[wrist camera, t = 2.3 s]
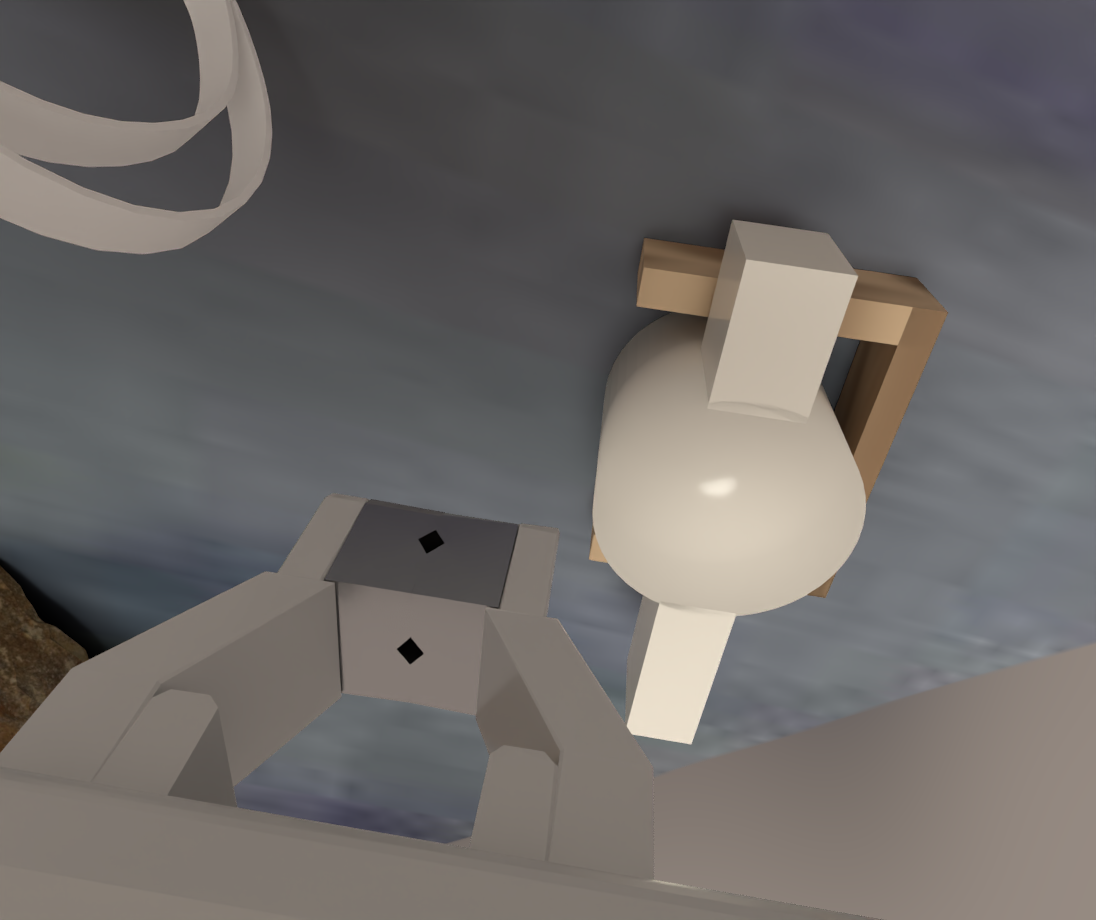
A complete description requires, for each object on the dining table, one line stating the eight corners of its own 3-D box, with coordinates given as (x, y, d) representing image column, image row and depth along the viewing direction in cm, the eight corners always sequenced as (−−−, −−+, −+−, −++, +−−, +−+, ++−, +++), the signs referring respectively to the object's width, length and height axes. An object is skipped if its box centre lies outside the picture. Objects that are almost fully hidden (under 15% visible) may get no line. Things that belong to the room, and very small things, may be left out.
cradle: (594, 512, 30) (589, 559, 28) (644, 237, 24) (643, 267, 22) (810, 546, 30) (825, 597, 28) (916, 278, 24) (947, 312, 22)
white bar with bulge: (570, 589, 33) (553, 720, 27) (642, 178, 23) (639, 243, 18) (743, 617, 33) (763, 756, 27) (886, 213, 23) (966, 291, 17)
